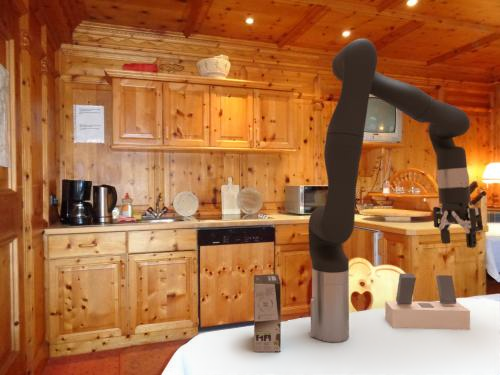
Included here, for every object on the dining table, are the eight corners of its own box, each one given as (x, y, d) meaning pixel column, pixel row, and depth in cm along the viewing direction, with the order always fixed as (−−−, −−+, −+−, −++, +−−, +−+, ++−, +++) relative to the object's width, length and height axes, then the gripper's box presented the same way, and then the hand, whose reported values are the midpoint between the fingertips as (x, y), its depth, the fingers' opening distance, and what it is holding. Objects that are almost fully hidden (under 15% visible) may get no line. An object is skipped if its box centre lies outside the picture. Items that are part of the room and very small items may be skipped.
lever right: (443, 303, 101) (437, 269, 105) (440, 304, 103) (435, 270, 106) (456, 303, 101) (451, 269, 104) (453, 304, 103) (448, 270, 106)
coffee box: (281, 352, 86) (281, 283, 86) (253, 352, 86) (253, 283, 86) (279, 336, 95) (278, 273, 95) (254, 335, 96) (253, 273, 95)
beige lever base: (392, 327, 100) (392, 308, 100) (385, 318, 107) (385, 300, 107) (469, 329, 98) (470, 310, 98) (457, 319, 105) (457, 301, 105)
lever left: (397, 305, 102) (401, 277, 99) (395, 300, 104) (399, 273, 101) (411, 305, 102) (415, 278, 99) (408, 300, 104) (413, 273, 100)
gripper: (423, 187, 106) (427, 243, 106) (463, 185, 93) (468, 250, 92) (444, 185, 108) (449, 241, 108) (487, 183, 95) (492, 247, 94)
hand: (458, 245), depth 100 cm, fingers open, 8 cm apart
